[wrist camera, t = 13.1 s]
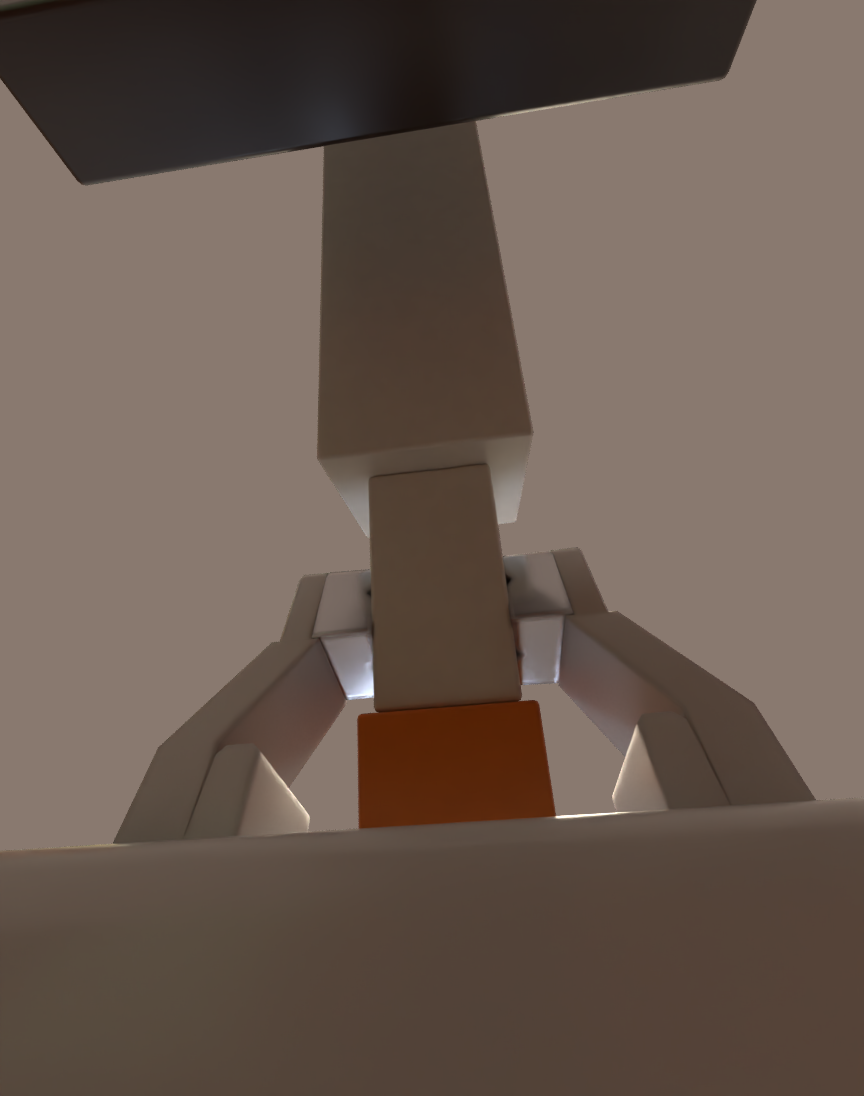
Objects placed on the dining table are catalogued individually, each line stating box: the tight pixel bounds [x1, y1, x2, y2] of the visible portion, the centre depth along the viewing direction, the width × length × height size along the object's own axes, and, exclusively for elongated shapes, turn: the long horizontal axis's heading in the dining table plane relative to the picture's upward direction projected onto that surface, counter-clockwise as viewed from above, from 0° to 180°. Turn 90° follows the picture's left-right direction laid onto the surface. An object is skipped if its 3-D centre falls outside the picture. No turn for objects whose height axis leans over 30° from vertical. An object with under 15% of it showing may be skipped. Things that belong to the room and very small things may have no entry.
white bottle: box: [317, 121, 556, 829], centre depth 10 cm, size 18×4×4 cm, turn 176°
